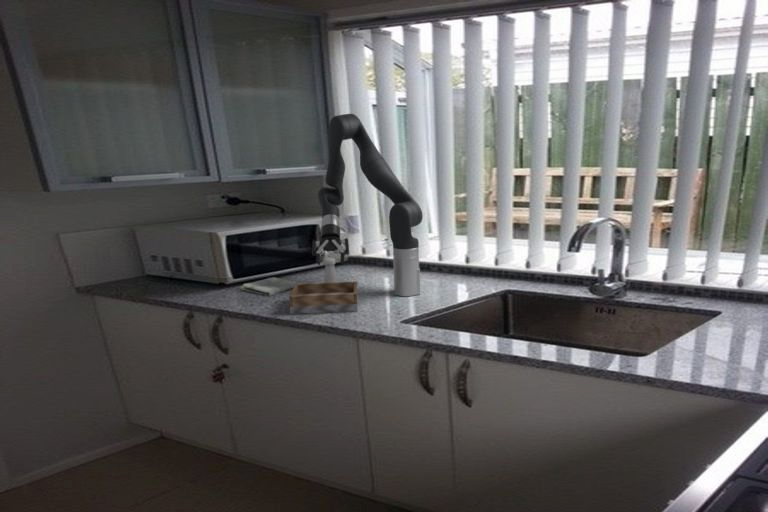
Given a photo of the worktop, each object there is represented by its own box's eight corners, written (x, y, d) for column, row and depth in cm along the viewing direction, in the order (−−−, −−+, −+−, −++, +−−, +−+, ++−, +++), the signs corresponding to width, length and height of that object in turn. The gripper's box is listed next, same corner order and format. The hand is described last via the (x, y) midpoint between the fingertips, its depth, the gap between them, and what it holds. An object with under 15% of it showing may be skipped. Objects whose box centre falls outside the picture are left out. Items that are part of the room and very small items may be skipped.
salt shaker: (336, 294, 193) (334, 260, 190) (321, 293, 194) (319, 259, 191) (340, 290, 198) (339, 256, 196) (326, 289, 200) (324, 256, 197)
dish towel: (304, 287, 207) (304, 279, 206) (269, 298, 193) (269, 289, 192) (273, 280, 218) (272, 273, 217) (238, 291, 204) (237, 283, 203)
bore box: (357, 297, 188) (357, 281, 187) (357, 311, 172) (356, 293, 171) (296, 300, 187) (295, 284, 186) (290, 314, 171) (289, 296, 170)
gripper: (311, 223, 203) (310, 258, 194) (348, 222, 204) (348, 257, 195) (313, 234, 209) (312, 269, 201) (349, 233, 210) (349, 267, 201)
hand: (330, 263), depth 198 cm, fingers open, 8 cm apart
